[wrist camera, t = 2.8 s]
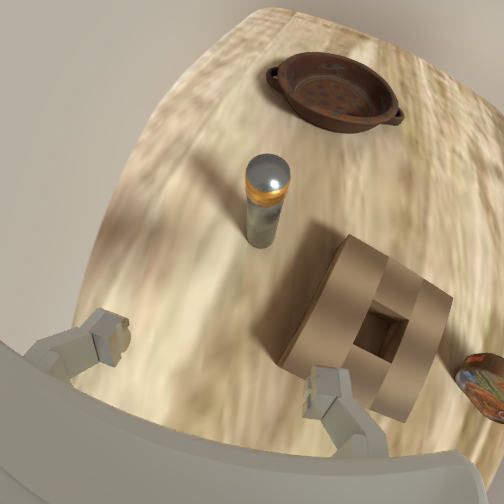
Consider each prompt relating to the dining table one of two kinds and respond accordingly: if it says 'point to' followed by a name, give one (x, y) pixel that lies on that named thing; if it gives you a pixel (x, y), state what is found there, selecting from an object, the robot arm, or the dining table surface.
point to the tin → (484, 384)
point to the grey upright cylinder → (265, 197)
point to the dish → (336, 92)
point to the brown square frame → (352, 316)
